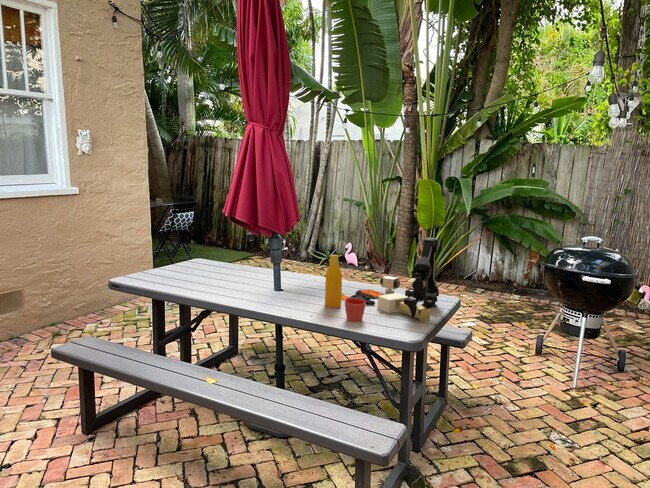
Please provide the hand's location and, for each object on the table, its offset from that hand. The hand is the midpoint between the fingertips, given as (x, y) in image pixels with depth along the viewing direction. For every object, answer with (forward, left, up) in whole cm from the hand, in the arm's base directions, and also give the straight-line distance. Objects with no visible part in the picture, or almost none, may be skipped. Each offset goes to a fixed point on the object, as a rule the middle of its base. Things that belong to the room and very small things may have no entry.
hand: (419, 316), depth 241 cm
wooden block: (0, -4, -1) cm, 5 cm away
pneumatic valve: (-19, -46, -2) cm, 50 cm away
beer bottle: (+26, -42, -2) cm, 49 cm away
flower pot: (+30, -16, -2) cm, 34 cm away
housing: (0, -21, -2) cm, 21 cm away
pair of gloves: (0, -46, -2) cm, 46 cm away
